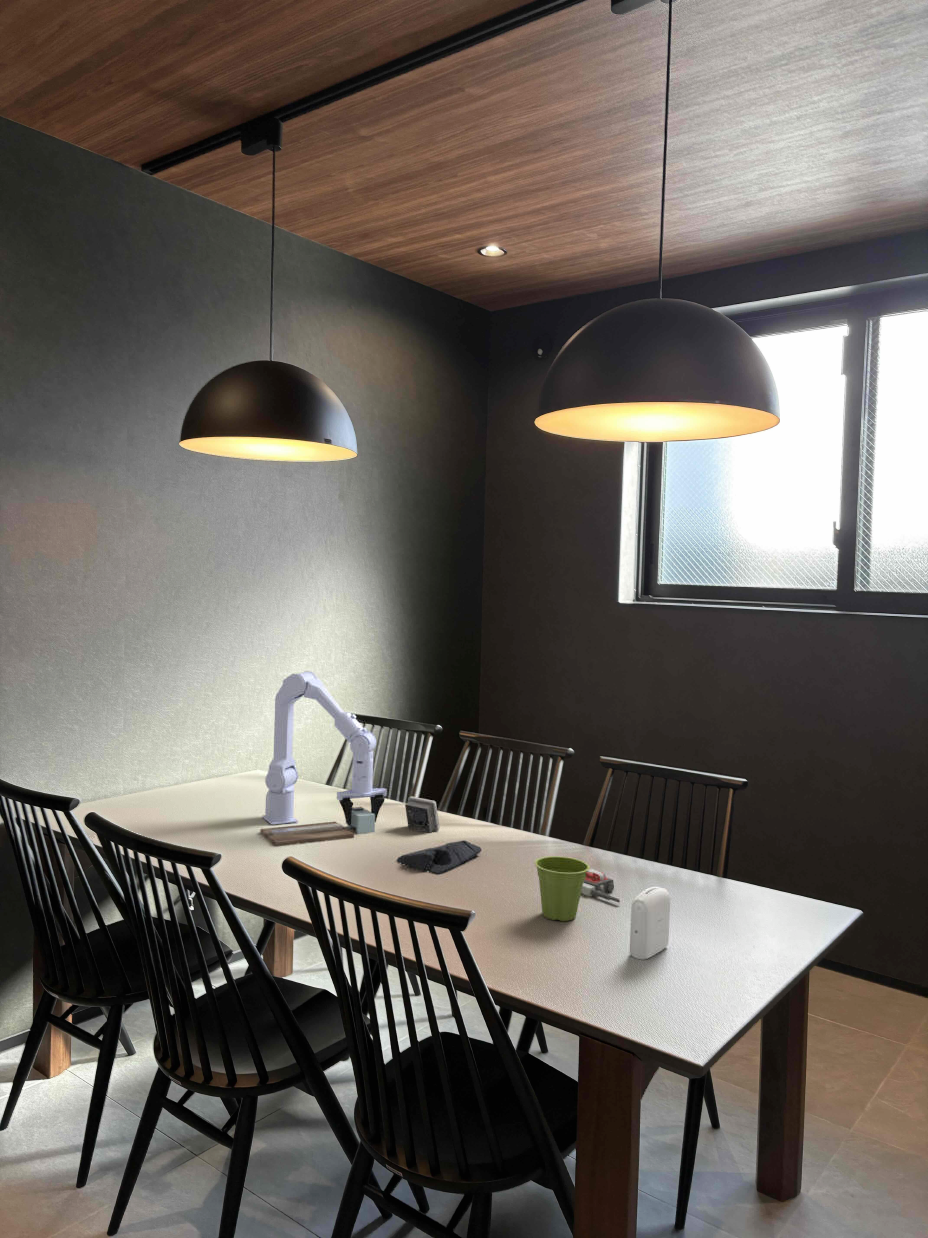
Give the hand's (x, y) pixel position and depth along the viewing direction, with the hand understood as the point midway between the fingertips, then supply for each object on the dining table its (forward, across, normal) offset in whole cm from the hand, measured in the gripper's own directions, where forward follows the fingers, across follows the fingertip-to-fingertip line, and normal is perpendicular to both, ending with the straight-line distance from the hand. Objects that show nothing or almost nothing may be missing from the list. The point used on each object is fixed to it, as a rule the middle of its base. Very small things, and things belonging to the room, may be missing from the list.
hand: (361, 823), depth 257 cm
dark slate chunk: (+3, +8, -34) cm, 35 cm away
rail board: (+2, -16, 0) cm, 16 cm away
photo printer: (+2, +18, -102) cm, 104 cm away
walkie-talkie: (+3, +30, -69) cm, 75 cm away
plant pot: (+2, +13, -79) cm, 80 cm away
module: (+2, 0, 0) cm, 2 cm away
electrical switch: (+2, +16, -7) cm, 18 cm away
